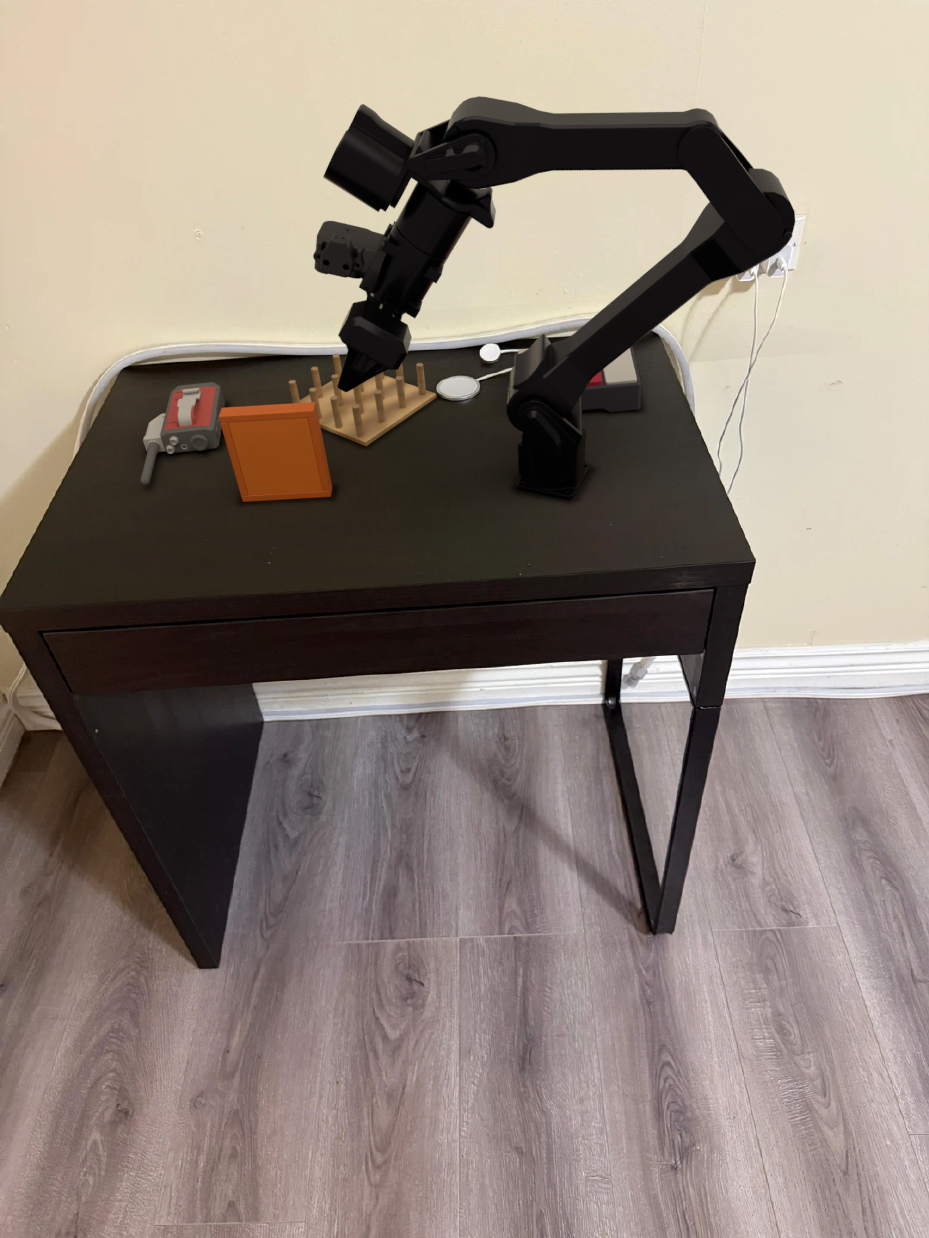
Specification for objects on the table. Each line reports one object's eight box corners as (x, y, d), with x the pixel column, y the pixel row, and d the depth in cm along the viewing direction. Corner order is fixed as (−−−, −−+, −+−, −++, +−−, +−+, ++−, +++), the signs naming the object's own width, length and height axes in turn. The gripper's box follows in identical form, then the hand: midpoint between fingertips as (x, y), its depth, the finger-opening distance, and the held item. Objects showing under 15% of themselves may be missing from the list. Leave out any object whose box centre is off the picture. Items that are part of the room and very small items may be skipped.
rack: (436, 397, 115) (433, 364, 112) (366, 446, 108) (360, 413, 105) (357, 369, 122) (352, 337, 119) (285, 413, 115) (278, 381, 112)
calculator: (513, 346, 116) (631, 335, 115) (516, 376, 119) (630, 366, 118) (515, 389, 108) (641, 378, 107) (518, 420, 111) (640, 410, 110)
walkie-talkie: (161, 405, 118) (138, 494, 104) (151, 374, 115) (126, 461, 101) (228, 397, 119) (215, 485, 104) (220, 367, 116) (205, 452, 101)
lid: (332, 487, 102) (315, 401, 95) (331, 497, 101) (313, 410, 93) (245, 492, 103) (221, 407, 95) (242, 502, 101) (218, 416, 94)
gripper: (361, 155, 88) (297, 286, 97) (325, 229, 74) (255, 372, 84) (459, 219, 91) (388, 339, 101) (441, 300, 78) (361, 430, 88)
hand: (349, 366), depth 93 cm, fingers open, 9 cm apart
